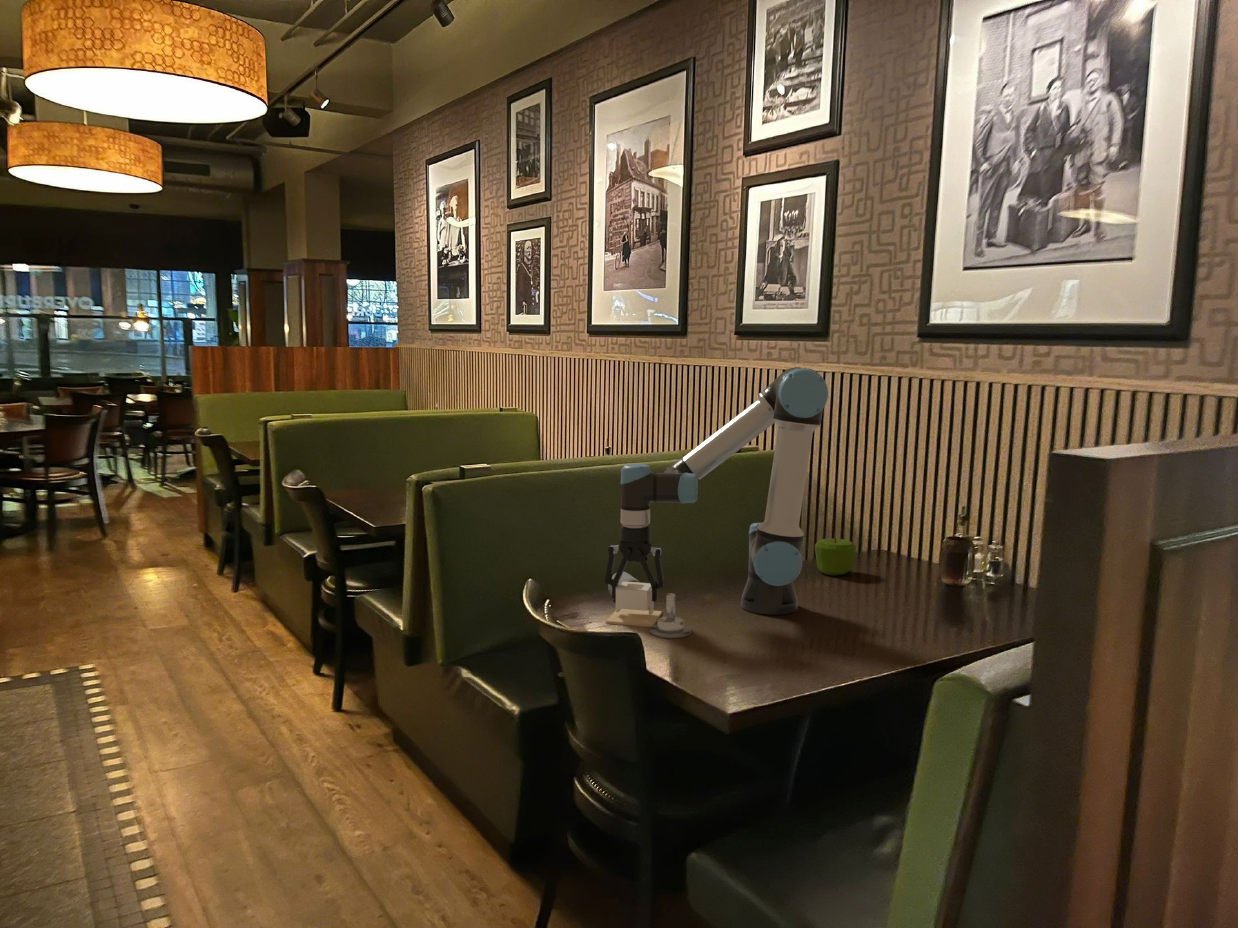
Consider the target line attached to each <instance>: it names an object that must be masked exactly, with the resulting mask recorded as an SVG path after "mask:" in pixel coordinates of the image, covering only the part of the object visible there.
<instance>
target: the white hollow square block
mask: <svg viewBox="0 0 1238 928" xmlns="http://www.w3.org/2000/svg"><path fill="white" fill-rule="evenodd" d="M650 588H651V585H650V582H649V583H648V582H640V583H638V582H622V583H621V584H620V586H619V587H618V588H617V589H616V599H615V610H616V609H629V610H642V611H647V610H649V589H650Z"/></svg>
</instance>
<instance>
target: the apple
mask: <svg viewBox="0 0 1238 928" xmlns="http://www.w3.org/2000/svg"><path fill="white" fill-rule="evenodd" d="M814 552H815V559H816V564H817V566H816V567H817V569H818V570H819V571H820V572H821V573H823V574H824V575H826V576H833V577H835V576H837V577H838V576H843V575H845V574H847V573H849V572H850V571H852V569H853V564H854V560H855V556H856V552H857V545H855V544H854V542H852V541H850V540H847V539H842V538H836V537H833V538H822V539H819V540H817V542H816V543H815V545H814Z"/></svg>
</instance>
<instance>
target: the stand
mask: <svg viewBox="0 0 1238 928" xmlns="http://www.w3.org/2000/svg"><path fill="white" fill-rule="evenodd" d="M665 601H666V602H665V616H662V617H661V616H660V617H659V618H658V620H657V621H656V622H657V624H654V626H653V627H649V628H650V629H649V633H650V635H651V636H654V637H656V638H661V639H667V640H671V639H672V640H674V639H683V638H687V637H690V635H691V634H692V630H691V628H690V627H688V626H686V625H685V624H684V623H685V621H684V619H683V618H681V617H679V616H676V593H672V592H671V593H669V592H668V593H666V596H665Z"/></svg>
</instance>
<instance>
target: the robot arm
mask: <svg viewBox="0 0 1238 928" xmlns="http://www.w3.org/2000/svg"><path fill="white" fill-rule="evenodd" d="M828 398H829V389H828V385H827V383H826V380H825V379H824V378H823V376H822V375H821V374H820V373H819V372H817V371H816V370H814V369H812V368H807V367H800V366H797V367H796V366H795V367H791V368H790V367H789V368H788V369H785V370H784V371H783V372H781V373H780V374H779V375H778V376H777V377H776V378H775V379H774V380H773V381H772V382H771V383H770V384H769V385H768V386H767V387H765V388H764V389H763V390H762V391H760V392H759V393H758V398H757V400H755V401H754V402H753V403H752V404H750V405H749V406H747V407H746V408H744V410H742V411H741V412H739V413H738V414H737V415H736V416H735V417H733V418H732V419H730V420H729V421H728V422H726V423H725V424H724V425H723V426H721V427H720V428H719V429H718V430H717V431H715V432H714V433H712V434H711V435H710V436H708V437H707V438H706V439H704V440H703V441H702V442H700V443H699V444H698V445H696V447H694V448H693V449H692V450H690V451H689V452H688V453H686V454H685V455H684V456H683V457H682V458H680V459H678V460H677V461H676V462H675V463H674V464H670V465H668V467H666V468H665V469H664V470H663V472H652V470H651V466H650V465H648V464H647V463H646V464H645V463H629V464H628V463H627V464H625V465H623V467H621V470H620V471H621V472H620V524H621V526H620V533H619V534H620V537H619V538H620V542H619V544H618V545H614V544H611V545H610V546H608V548H607V551H608V556H609V557H608V561H607V568H606V574H605V579H604V584H605V585H608V584H610V585H611V586H612V595H611V597H612V599H615V600H616V589H617V588H618V587H619V586H620V585H618V583H619V580H620V578H621V576H622V574H623V572H625V569H626V567H627V565H628V563H629V562H636V563H637V562H638V563H640V564H641V566H642V568H643V570H644V573H645V574H646V578H647V580H648V582H649V583H650V585H651V588H650V589H649V608H648V610H649V615H652V613H653V612H654V611H655V610H654V609H655V608H654V607H655V606H654V605H655V603H654V602H657V600H658V598H659V597H658V595H659V589H660V588H663V587H664V586H665V585H666V581H665V575H664V569H663V561H662V553H663V548H662V547H655V546H654V547H653V546H652V543H651V527H650V525H649V524H651V503H668V504H671V503H672V504H674V503H676V504H683V505H685V504H693V503H696V502H697V501H698V486H699V484H698V483H699V481H700V480H702V478H704V477H706V476H707V475H708V474H709V473H710V472H712V471H713V470H715V469H716V468H717V467H719V466H720V465H722V464H723V463H724V462H725V461H726V460H729V459H730V457H732V456H733V455H734V454H736V453H737V452H738V451H740V450H741V449H743V447H745V446H746V445H748V444H749V443H750V442H751V441H753V440H754V439H756V438H757V437H758V436H759V435H761V434H762V433H763V432H765V431H766V430H768V429H769V428H770V427H771V426H773V425H774V424H775V425H776V426H777V433H776V439H775V445H774V452H773V460H772V468H771V474H770V480H769V487H768V493H767V494H768V495H767V501H766V508H765V514H764V521H763V522H754V523H751V524H750V526H749V531H748V570H747V572H748V576H747V580H746V583H745V586H744V589H743V592H742V594H741V601H740V607H741V608H742V609H743V610H745V611H748V612H751V613H754V614H758V615H759V614H761V615H768V616H769V615H770V616H772V615H775V616H776V615H777V616H778V615H780V616H781V615H788V614H792V613H795V612H796V611H798V610H799V599H798V596H797V592H796V589H795V586H794V583H793V582H794V581H795V580H796V579H797V578H798V576H800V574H801V572H802V568H803V563H804V562H803V557H802V549H803V548H802V547H803V543H804V536H805V533H804V531H803V530H802V529H801V527H800V520H801V513H802V509H803V508H802V507H803V501H804V493H805V488H806V481H807V474H808V469H809V461H810V454H811V449H812V448H811V447H812V442H813V441H812V440H813V434H814V431H816V430H817V429H818V428H819V427H821V424H822V419H823V418H822V416H823V410H824V408H825V406H826V405H827V401H828ZM619 551H620V553H621V554H622V556H623V557H622V560H621V562H620V564H619V566H618V569H617V571H616V572H615V573H616V575H615V577H614V579H612V576H613V575H614V568H615V562H616V556H617V555H616V554H618V552H619ZM650 552H651V553H652V556H653V557H654V565H655V571H656V576H655V573H654V572H653V569H652V566H651V564H650V560H649V558H648V555H649V554H650ZM615 610H616V612H619V611H620V610H621V609H616V608H615Z"/></svg>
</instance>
